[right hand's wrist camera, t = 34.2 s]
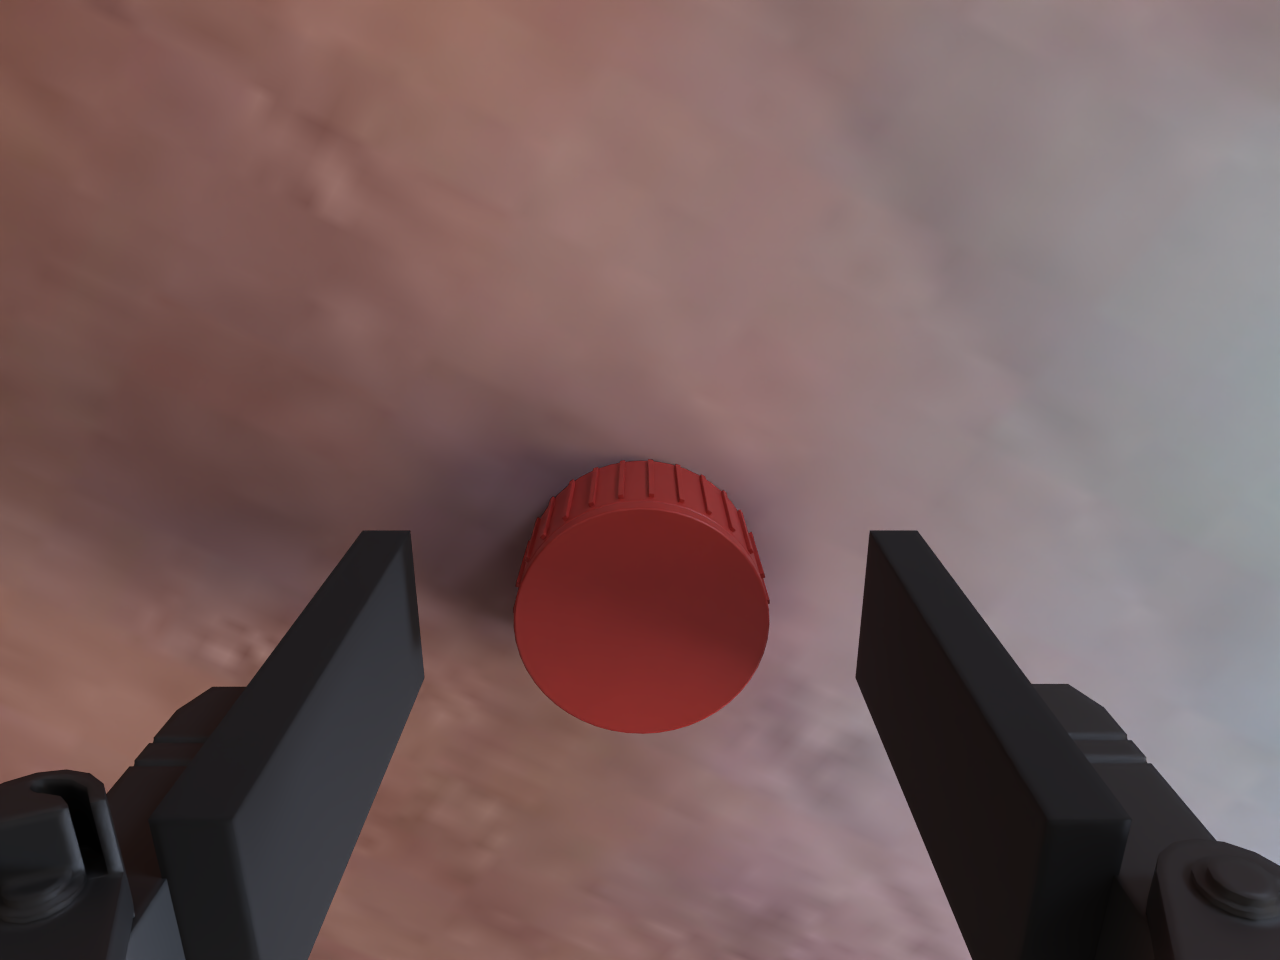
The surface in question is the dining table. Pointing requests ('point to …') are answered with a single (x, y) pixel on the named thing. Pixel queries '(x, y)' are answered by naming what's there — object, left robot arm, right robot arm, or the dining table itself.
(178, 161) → the dining table surface
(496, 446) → the dining table surface
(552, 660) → the cap
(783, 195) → the dining table surface
